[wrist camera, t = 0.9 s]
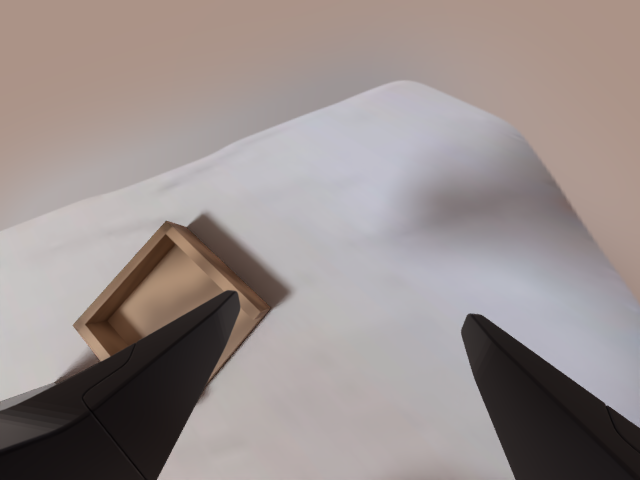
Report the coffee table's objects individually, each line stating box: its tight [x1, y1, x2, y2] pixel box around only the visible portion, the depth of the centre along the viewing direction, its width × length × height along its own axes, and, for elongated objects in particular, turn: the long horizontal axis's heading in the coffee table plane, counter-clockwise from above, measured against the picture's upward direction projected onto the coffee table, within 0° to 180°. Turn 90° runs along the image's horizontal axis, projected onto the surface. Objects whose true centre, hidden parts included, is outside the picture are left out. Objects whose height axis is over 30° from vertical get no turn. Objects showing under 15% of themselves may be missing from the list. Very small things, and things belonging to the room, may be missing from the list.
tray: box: [73, 221, 271, 385], centre depth 24 cm, size 14×14×3 cm
